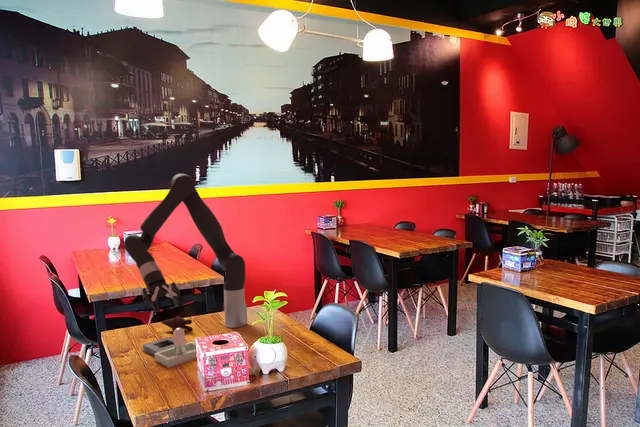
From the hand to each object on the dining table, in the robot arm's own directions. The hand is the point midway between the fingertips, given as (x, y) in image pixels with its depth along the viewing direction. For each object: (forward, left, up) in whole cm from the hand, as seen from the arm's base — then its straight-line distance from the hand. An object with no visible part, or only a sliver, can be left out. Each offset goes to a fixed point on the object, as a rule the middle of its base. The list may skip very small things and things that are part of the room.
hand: (168, 308), depth 185 cm
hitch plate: (0, -5, -18) cm, 19 cm away
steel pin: (0, +8, -17) cm, 19 cm away
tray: (0, +8, -18) cm, 20 cm away
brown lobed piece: (-15, -22, -18) cm, 32 cm away
